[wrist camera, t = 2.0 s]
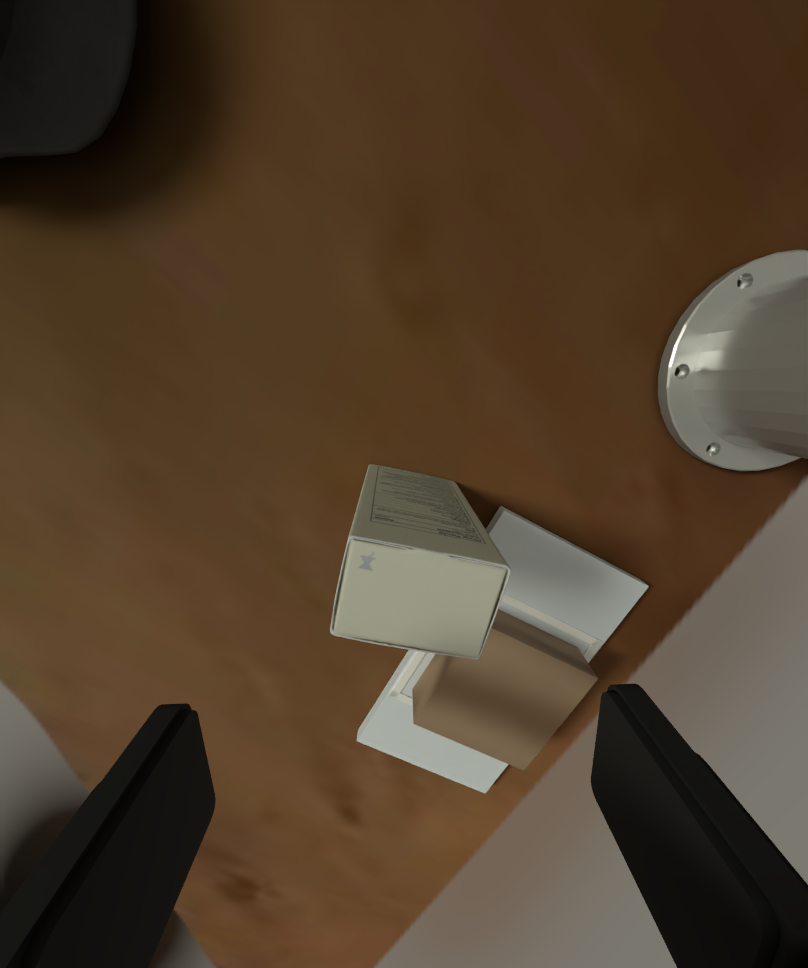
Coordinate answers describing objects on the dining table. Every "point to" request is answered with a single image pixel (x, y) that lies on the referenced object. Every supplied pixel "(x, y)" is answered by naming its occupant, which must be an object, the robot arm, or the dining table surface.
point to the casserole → (62, 72)
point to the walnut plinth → (504, 692)
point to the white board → (531, 598)
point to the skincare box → (418, 568)
